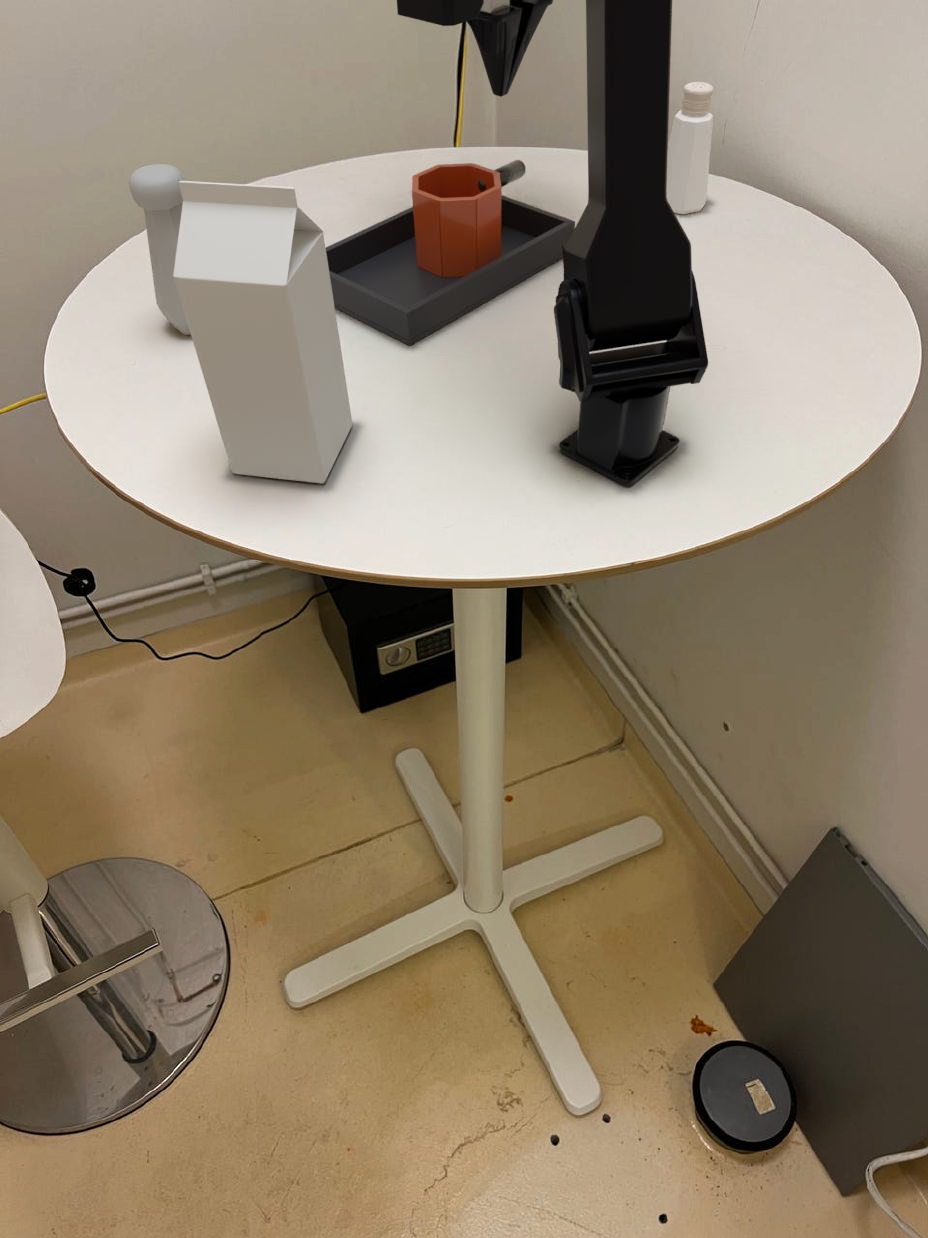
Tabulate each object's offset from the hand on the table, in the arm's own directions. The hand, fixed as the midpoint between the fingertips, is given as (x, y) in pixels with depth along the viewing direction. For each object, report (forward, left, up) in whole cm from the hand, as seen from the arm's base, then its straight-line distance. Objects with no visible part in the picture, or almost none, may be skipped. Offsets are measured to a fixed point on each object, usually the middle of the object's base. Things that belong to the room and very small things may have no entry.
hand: (500, 94), depth 75 cm
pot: (-3, 0, -12) cm, 13 cm away
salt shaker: (-29, +10, -13) cm, 34 cm away
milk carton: (-35, -11, -13) cm, 39 cm away
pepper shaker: (+19, -9, -13) cm, 24 cm away
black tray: (-8, 0, -13) cm, 16 cm away
